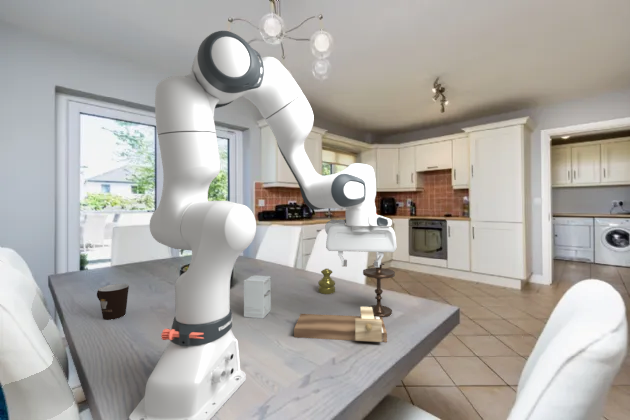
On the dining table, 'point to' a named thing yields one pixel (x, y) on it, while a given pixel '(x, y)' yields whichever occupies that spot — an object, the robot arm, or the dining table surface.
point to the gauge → (368, 326)
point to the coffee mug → (113, 300)
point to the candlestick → (379, 287)
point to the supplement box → (257, 296)
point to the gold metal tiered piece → (326, 283)
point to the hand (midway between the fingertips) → (360, 266)
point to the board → (329, 327)
